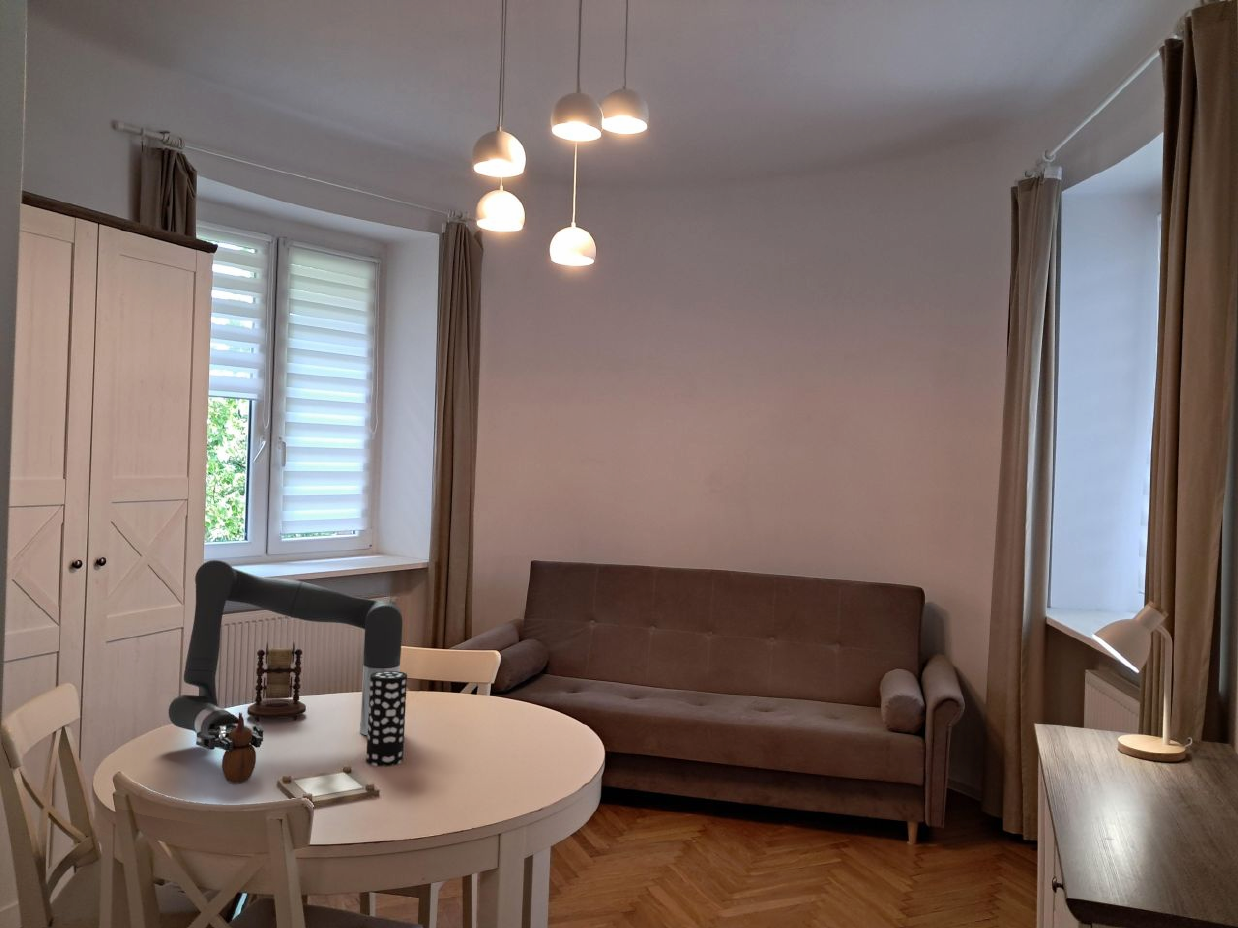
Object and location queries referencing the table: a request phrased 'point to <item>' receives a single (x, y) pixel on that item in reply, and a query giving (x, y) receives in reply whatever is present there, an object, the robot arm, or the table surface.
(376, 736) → the spotted tube
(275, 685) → the scroll
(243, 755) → the wooden figurine
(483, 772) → the table surface
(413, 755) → the table surface
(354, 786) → the base plate
